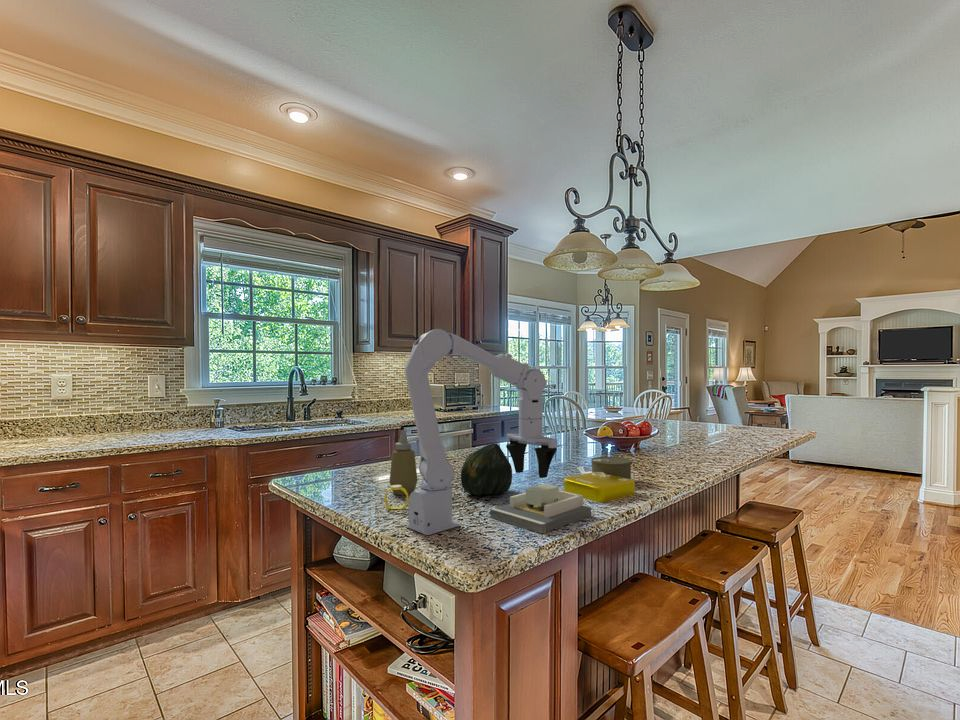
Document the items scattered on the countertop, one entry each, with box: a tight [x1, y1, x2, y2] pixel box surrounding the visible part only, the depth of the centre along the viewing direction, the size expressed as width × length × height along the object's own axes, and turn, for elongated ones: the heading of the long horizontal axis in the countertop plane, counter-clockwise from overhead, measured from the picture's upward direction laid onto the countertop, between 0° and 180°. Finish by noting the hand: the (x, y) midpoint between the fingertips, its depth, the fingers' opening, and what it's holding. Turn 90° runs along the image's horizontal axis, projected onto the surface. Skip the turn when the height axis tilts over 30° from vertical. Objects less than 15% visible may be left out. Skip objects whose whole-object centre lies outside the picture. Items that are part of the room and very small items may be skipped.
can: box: [591, 456, 632, 479], centre depth 147 cm, size 12×12×7 cm
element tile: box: [563, 472, 636, 503], centre depth 134 cm, size 15×15×5 cm
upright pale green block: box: [525, 483, 560, 511], centre depth 113 cm, size 7×4×5 cm, turn 133°
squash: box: [460, 443, 513, 497], centre depth 135 cm, size 14×15×15 cm
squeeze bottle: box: [389, 429, 418, 496], centre depth 136 cm, size 8×8×18 cm
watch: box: [384, 485, 409, 510], centre depth 120 cm, size 6×3×6 cm, turn 93°
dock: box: [489, 489, 592, 534], centre depth 113 cm, size 18×16×4 cm
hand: (531, 474), depth 114 cm, fingers open, 7 cm apart
